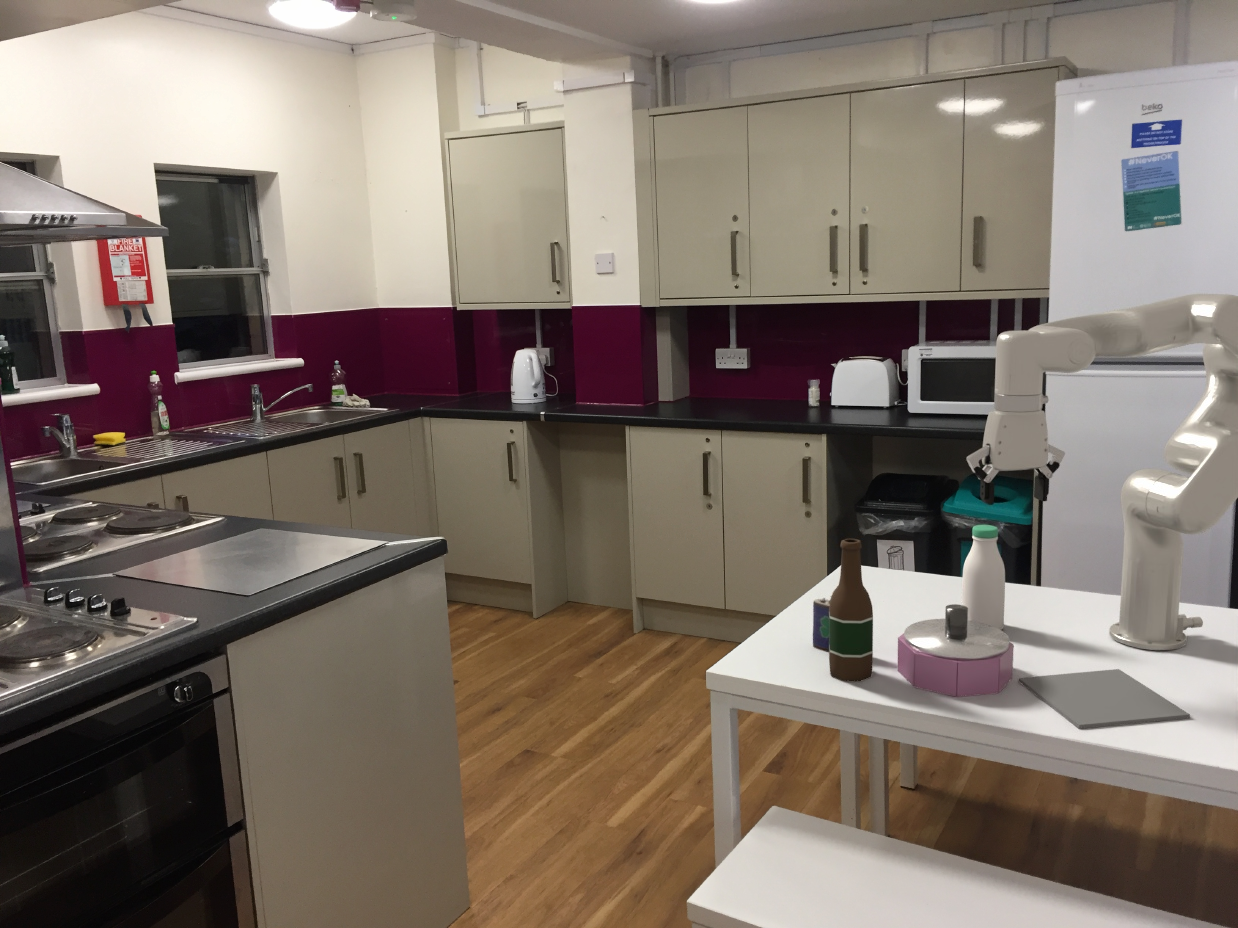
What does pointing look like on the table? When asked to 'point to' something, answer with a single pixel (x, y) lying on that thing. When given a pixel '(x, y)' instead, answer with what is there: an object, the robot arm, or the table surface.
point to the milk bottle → (984, 578)
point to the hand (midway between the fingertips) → (1014, 501)
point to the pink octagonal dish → (954, 672)
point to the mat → (1102, 698)
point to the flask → (821, 624)
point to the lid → (956, 637)
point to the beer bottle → (850, 620)
